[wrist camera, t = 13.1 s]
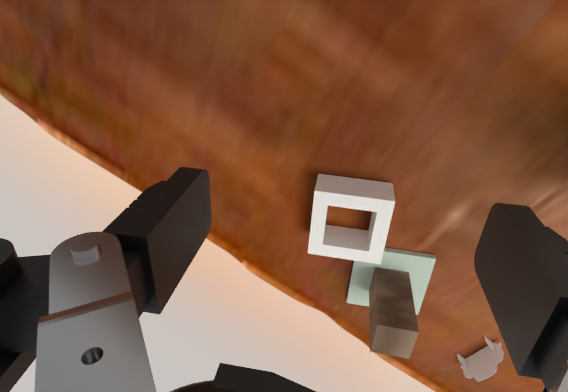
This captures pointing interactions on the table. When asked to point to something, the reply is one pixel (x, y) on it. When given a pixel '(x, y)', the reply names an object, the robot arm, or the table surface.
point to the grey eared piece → (482, 361)
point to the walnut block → (392, 313)
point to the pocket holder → (351, 196)
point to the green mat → (395, 260)
